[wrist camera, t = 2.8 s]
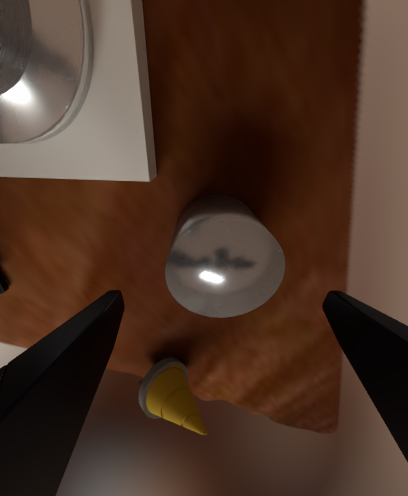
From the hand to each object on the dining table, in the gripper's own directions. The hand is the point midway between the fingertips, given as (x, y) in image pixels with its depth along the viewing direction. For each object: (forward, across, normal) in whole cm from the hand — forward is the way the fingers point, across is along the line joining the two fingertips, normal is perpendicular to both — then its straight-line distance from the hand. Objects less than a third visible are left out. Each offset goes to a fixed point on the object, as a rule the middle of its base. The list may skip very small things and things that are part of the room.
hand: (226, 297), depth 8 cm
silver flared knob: (+6, 0, 0) cm, 7 cm away
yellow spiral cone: (+7, +4, +16) cm, 18 cm away
